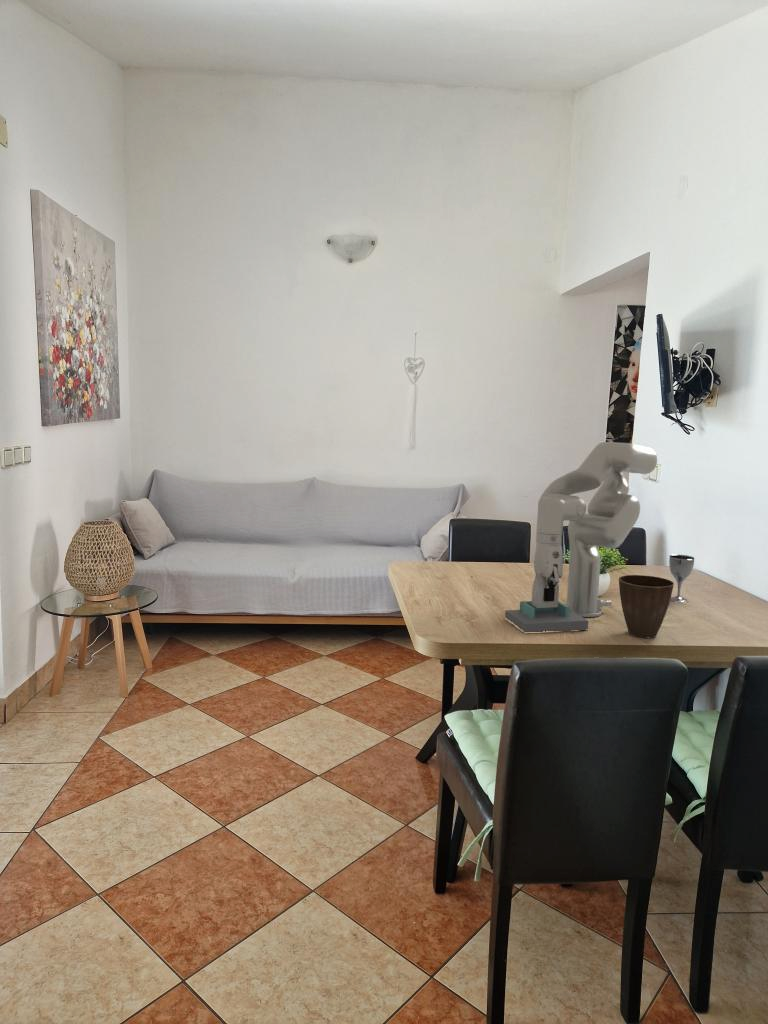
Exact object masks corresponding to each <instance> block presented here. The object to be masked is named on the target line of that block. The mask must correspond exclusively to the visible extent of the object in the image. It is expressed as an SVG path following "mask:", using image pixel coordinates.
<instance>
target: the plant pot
mask: <svg viewBox="0 0 768 1024" xmlns="http://www.w3.org/2000/svg"><path fill="white" fill-rule="evenodd" d="M674 583H675V582H673V580H669V579H668V578H665V577H664V578H663V577H659V576H653V575H652V576H651V575H645V574H643V575H641V574H629V575H622V576H619V578H618V585H619V586H618V587H619V597H620V602H621V603H620V604H621V609H622V613H623V617H624V622H625V625H626V627H627V628H626V629H627V631H628V633H630V634H629V635H631V634H632V635H634V636H633V637H635V636H637V637H636V638H640V637H653V638H655V637H654V636H656V637H657V634H658V633H659V631H660V630H661V627H662V624H663V623H664V620H665V617H666V614H667V611H668V608H669V605H670V602H671V600H670V599H671V597H672V594H673V590H674V585H675V584H674ZM632 635H631V636H632Z"/></svg>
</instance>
